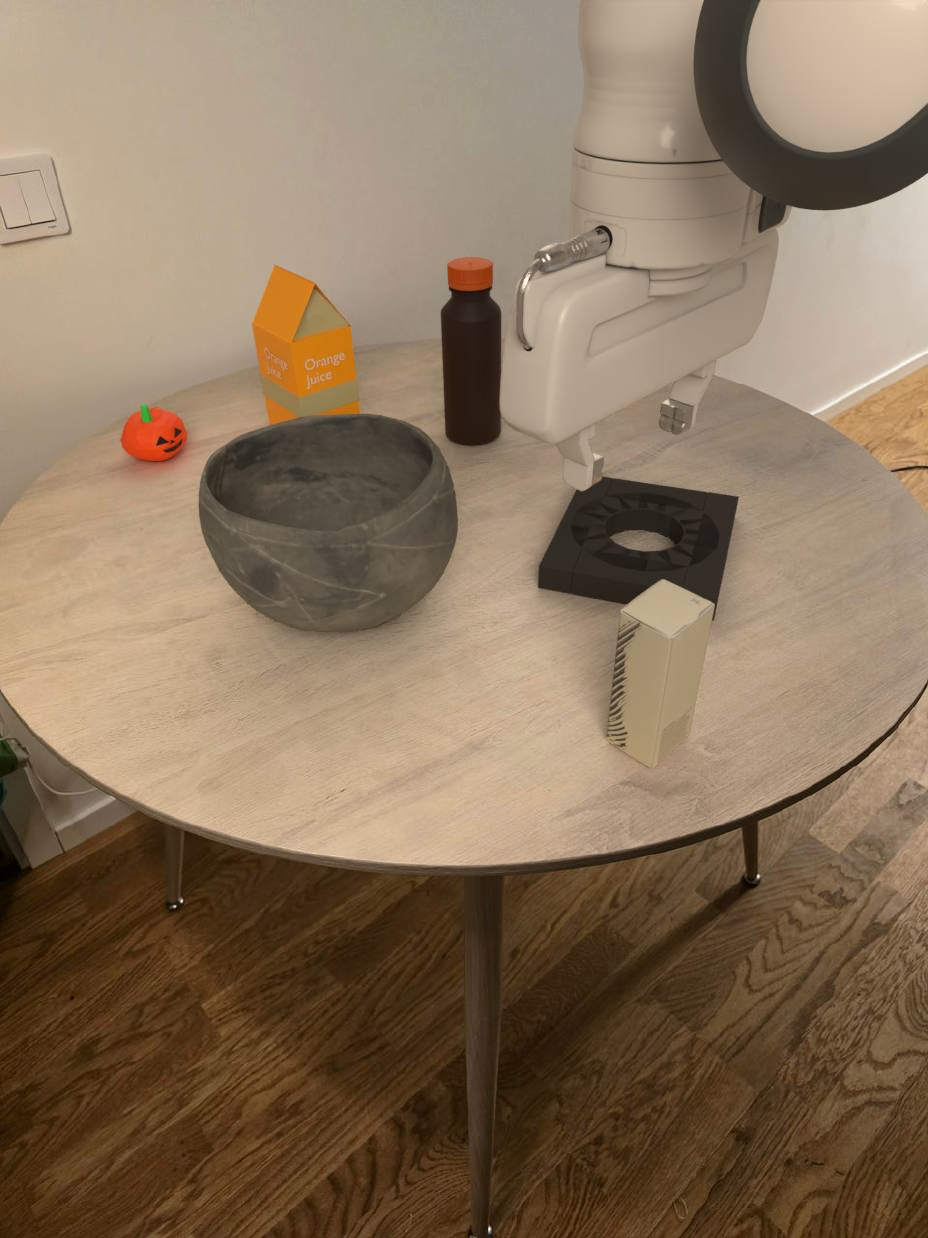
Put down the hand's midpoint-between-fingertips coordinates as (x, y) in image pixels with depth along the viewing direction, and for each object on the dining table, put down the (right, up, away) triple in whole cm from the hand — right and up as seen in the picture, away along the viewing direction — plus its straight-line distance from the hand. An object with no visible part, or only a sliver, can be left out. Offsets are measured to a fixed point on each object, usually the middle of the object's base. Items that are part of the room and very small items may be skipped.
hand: (631, 455), depth 52 cm
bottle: (-9, +12, +53) cm, 55 cm away
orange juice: (-28, +11, +52) cm, 60 cm away
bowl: (-21, -9, +26) cm, 35 cm away
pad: (+7, -3, +32) cm, 33 cm away
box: (+4, -19, +13) cm, 23 cm away
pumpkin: (-46, +9, +50) cm, 69 cm away
